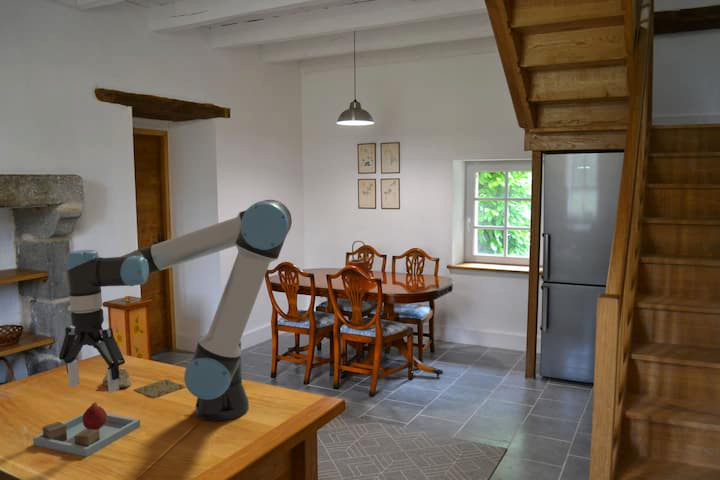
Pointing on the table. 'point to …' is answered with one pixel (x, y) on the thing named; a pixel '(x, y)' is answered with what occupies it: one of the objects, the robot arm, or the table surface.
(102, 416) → the onion
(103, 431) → the dish
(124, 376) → the rock
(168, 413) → the table surface
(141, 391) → the speckled stone tile
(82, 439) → the walnut cube
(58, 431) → the walnut cube
